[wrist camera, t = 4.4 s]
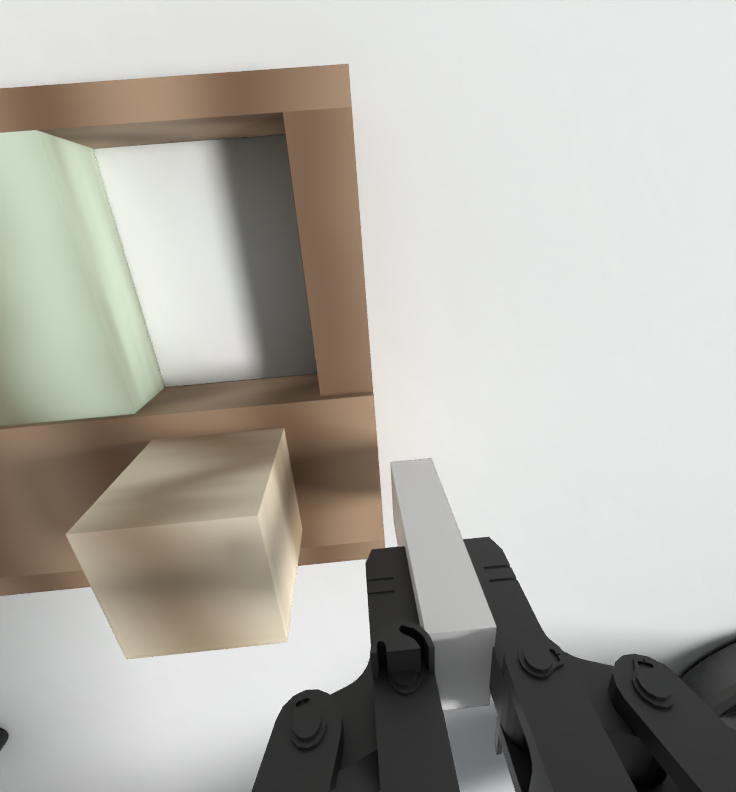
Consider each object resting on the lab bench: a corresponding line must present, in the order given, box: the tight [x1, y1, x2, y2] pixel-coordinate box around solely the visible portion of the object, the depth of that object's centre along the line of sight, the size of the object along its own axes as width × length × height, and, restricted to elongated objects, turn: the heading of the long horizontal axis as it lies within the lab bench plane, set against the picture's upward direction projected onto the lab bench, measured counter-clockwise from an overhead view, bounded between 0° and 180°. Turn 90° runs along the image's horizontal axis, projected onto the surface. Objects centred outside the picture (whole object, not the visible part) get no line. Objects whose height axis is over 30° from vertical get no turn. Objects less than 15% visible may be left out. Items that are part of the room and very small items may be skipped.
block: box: [66, 428, 302, 659], centre depth 14 cm, size 5×5×5 cm
